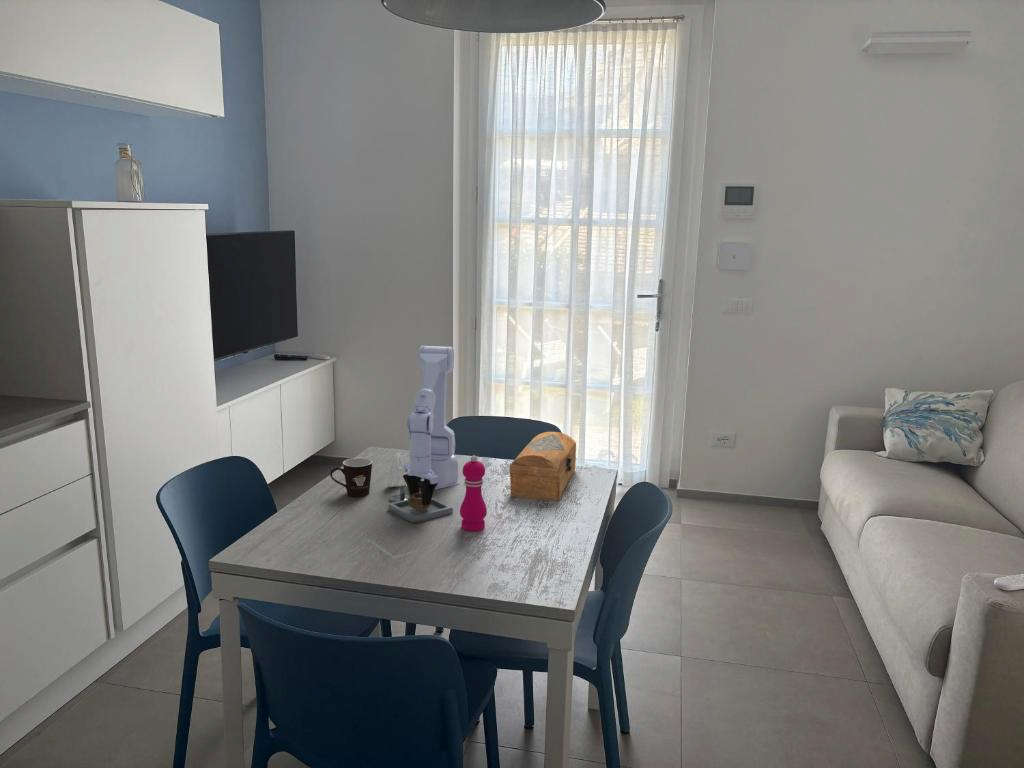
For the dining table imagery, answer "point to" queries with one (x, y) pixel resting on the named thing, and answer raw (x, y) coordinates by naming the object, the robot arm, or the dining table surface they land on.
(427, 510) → the tray
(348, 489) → the coffee mug
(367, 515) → the dining table surface
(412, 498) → the ring
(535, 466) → the wooden box
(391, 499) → the grey round piece
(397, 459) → the salt and pepper shakers
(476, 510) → the pepper mill
